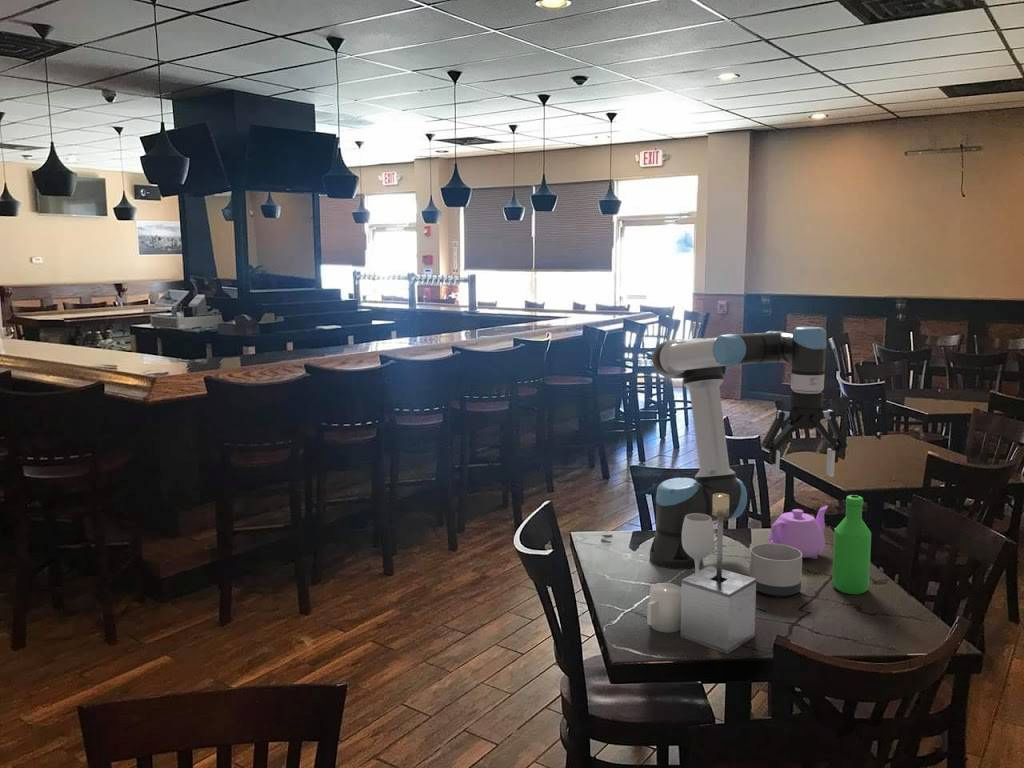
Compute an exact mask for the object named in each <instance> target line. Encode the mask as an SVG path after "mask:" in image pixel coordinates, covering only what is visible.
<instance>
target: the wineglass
mask: <svg viewBox="0 0 1024 768" xmlns="http://www.w3.org/2000/svg"><path fill="white" fill-rule="evenodd" d="M713 522H714V521H712V518H711V517H710V516H709V515H706V514H700V513H692V514H687V515H686V516H685V518H684V522H683V527H682V546H683V549H684V550H685V552H686V553H687V554H688V555H689V556H690V557H692V558H693V559H694V561H695V567H694V570H695V571H694V573H696V572H698V571H700V565H699V564H700V560H701V559H702V558H703V559H705V558H706V557H707V556H709V555H710V554H711V553H712V551H713V549H714V546H715V545H714V544H715V528H714V523H713Z"/></svg>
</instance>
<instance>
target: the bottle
mask: <svg viewBox="0 0 1024 768" xmlns="http://www.w3.org/2000/svg"><path fill="white" fill-rule="evenodd" d="M845 503H846V504H845V517H843V519H842V520H841V521H840V523H839V524H838V525H837V526H836V527H835V529H834V531H833V532H834V538H833V555H832V556H833V558H832V559H833V560H832V579H831V580H832V581H831V582H832V586H833V587H834V588H835V589H836V590H838V591H839V592H841V593H844V594H848V595H862V594H863V593H865V592H868V591H869V587H870V586H869V585H870V570H871V569H870V568H871V553H872V552H871V547H872V532H871V530H870V529H869V528H868V526H867V524H866V523H865V521H864V520H863V505H864V498H863V497H862V496H859V495H857V494H854V495H853V494H850V495H847V496H846V499H845Z"/></svg>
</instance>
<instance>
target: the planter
mask: <svg viewBox="0 0 1024 768" xmlns="http://www.w3.org/2000/svg"><path fill="white" fill-rule="evenodd" d="M749 551H750V554H749V577H752V578H755V579H756V592H757V591H758V592H759V593H762V594H763V595H766V596H767V595H768V596H772V597H786V596H792V595H795V594H797V593H799V592H801V590H802V572H803V571H802V570H803V569H802V567H803V558H802V553H801V552H800V551H799V550H798V549H796V548H793V547H790V546H786V545H781V544H769V543H761V544H755V545H753V546H752V547H751V548H750V550H749Z"/></svg>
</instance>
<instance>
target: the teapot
mask: <svg viewBox="0 0 1024 768" xmlns="http://www.w3.org/2000/svg"><path fill="white" fill-rule="evenodd" d="M828 508H829V507H828V505H823V506H821V507H820V508H819V509H818V512H817V515H816V518H815V517H814V516H813V515H811V514H809V513H804V510H803V509H801V508H800V509H799V508H796V509H792V510H791V511H789V512H784V513H781V514H780V515H779V517H778V518H777V519H776V520H775V521H774V523H773V524H772V525H771V529H770V531H769V534H768V544H781V545H786V546H790V547H793V548H796V549H798V550H799V551H800V552H801V553H802V559H803V558H809V559H811V558H812V559H813V560H818V559H819V556H818V555H820V554H821V553H822V552H823V551H824V550H825V547H826V540H825V534H824V532H825V527H826V526H825V525H826V524H825V512H826V510H827V509H828ZM817 558H818V559H817Z"/></svg>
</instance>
